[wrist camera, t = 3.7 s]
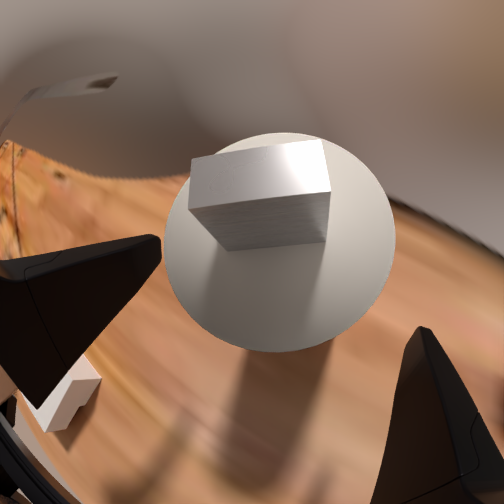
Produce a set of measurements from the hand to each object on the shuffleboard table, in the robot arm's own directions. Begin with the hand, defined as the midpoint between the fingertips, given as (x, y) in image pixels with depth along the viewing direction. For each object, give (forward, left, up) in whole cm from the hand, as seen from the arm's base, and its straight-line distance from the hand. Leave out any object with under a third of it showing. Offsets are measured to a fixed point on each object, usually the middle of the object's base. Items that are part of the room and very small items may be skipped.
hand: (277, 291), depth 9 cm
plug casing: (0, +1, -9) cm, 9 cm away
